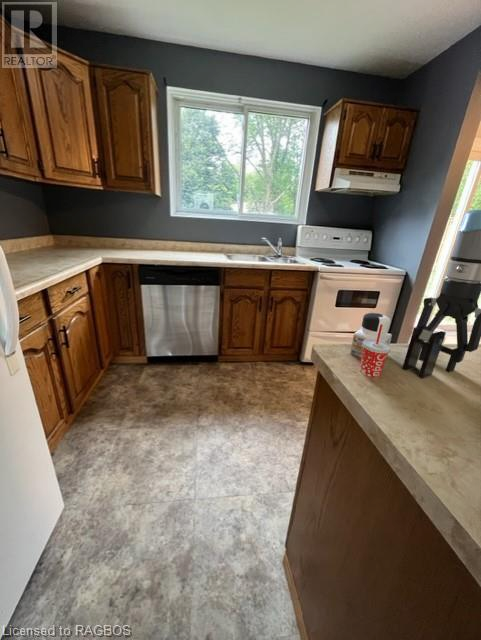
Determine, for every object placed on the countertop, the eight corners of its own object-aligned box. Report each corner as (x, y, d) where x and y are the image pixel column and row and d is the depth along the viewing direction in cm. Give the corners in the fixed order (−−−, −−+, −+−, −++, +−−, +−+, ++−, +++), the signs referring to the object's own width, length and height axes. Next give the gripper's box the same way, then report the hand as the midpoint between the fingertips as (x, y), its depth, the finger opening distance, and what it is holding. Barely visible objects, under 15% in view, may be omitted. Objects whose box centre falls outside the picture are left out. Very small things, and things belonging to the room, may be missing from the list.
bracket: (411, 363, 75) (424, 320, 70) (447, 380, 68) (464, 333, 63) (384, 373, 69) (396, 327, 65) (420, 392, 62) (436, 341, 57)
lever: (427, 348, 73) (432, 340, 73) (452, 358, 68) (457, 349, 68) (410, 335, 66) (415, 326, 66) (436, 344, 61) (442, 335, 61)
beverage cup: (359, 382, 65) (372, 328, 60) (352, 369, 70) (363, 319, 65) (386, 385, 64) (401, 330, 59) (377, 371, 70) (389, 321, 65)
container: (348, 358, 76) (357, 314, 72) (358, 349, 82) (367, 308, 77) (377, 368, 71) (388, 322, 67) (386, 359, 77) (397, 315, 72)
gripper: (414, 273, 70) (392, 353, 78) (509, 290, 55) (470, 387, 63) (430, 271, 74) (408, 348, 82) (523, 287, 58) (485, 380, 66)
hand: (435, 365), depth 72 cm, fingers closed on lever, 6 cm apart
